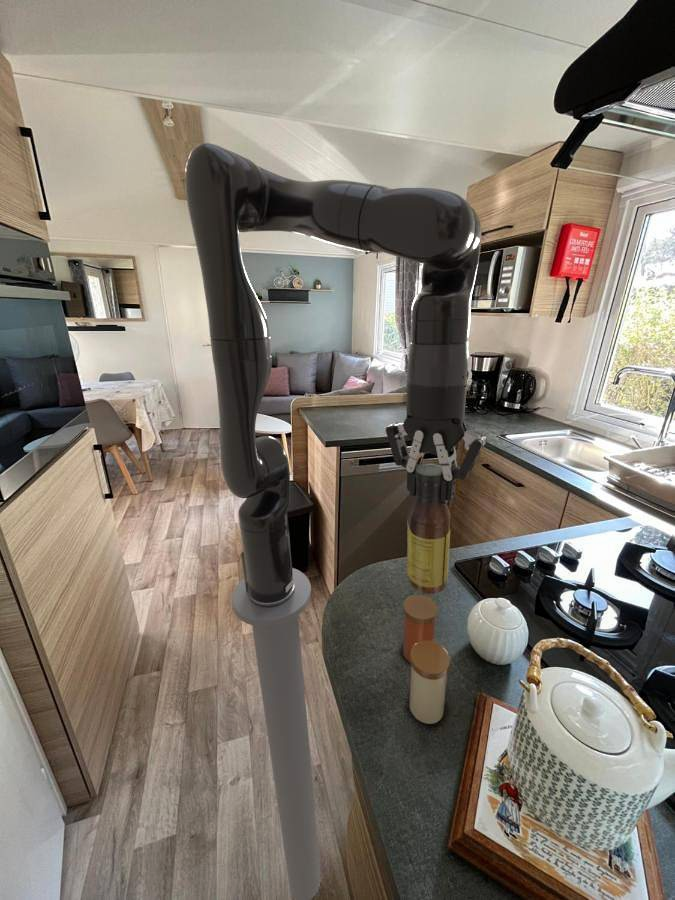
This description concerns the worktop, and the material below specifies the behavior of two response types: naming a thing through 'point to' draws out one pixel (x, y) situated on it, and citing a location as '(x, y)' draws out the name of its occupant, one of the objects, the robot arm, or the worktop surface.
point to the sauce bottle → (428, 533)
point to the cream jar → (428, 681)
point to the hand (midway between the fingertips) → (430, 497)
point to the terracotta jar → (418, 622)
